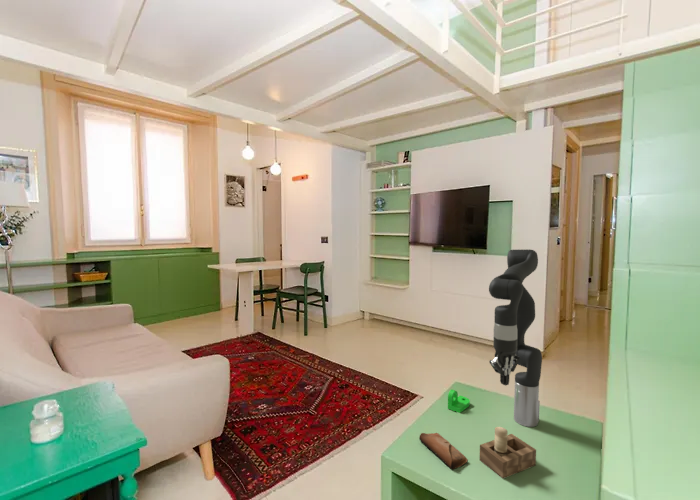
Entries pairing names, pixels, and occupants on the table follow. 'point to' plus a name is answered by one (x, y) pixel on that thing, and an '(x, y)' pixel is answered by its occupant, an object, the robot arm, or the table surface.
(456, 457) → the sunglasses case
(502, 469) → the brown wooden box
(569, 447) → the table surface
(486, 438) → the table surface
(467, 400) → the mechanical part
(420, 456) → the table surface
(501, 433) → the peg
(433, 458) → the table surface
